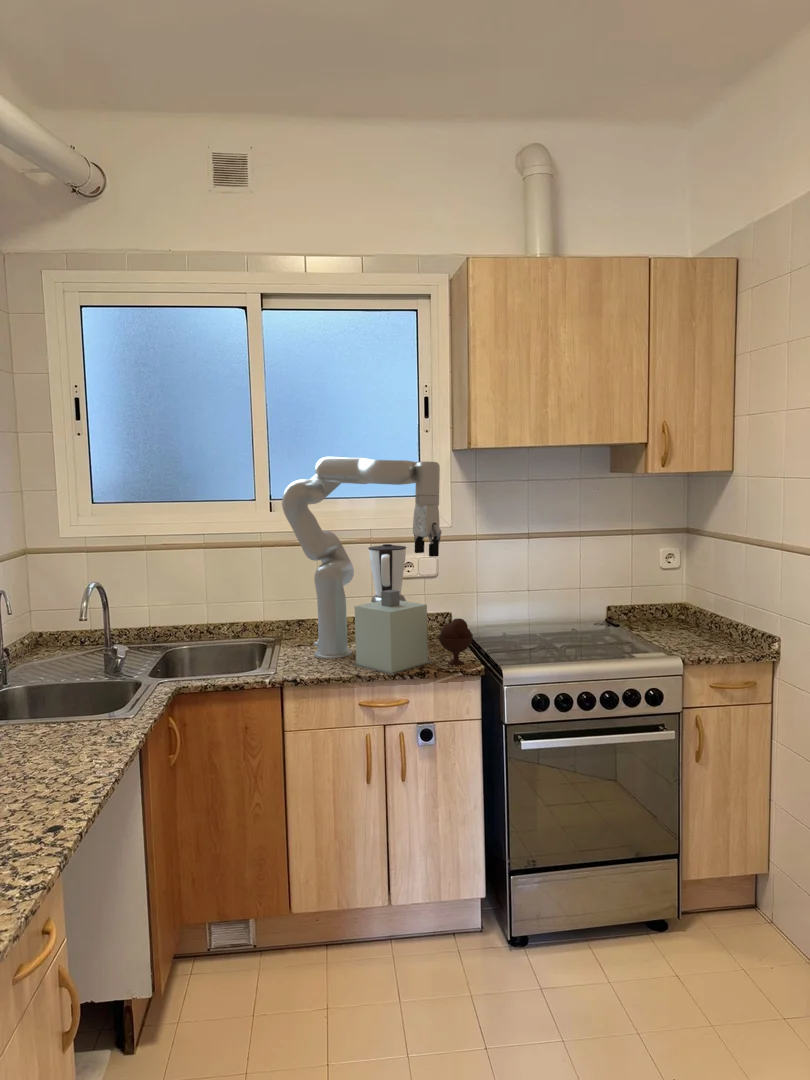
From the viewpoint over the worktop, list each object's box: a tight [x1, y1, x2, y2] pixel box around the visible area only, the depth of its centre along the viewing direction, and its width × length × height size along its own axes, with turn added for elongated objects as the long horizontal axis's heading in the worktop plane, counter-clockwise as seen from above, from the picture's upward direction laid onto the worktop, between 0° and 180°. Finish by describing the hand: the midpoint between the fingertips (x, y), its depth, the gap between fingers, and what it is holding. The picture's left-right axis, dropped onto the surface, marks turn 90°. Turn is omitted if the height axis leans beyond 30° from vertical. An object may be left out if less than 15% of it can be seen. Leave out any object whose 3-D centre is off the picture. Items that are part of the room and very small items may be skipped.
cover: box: [354, 590, 429, 673], centre depth 231 cm, size 16×16×23 cm
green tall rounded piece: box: [367, 543, 407, 603], centre depth 261 cm, size 19×13×35 cm
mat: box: [352, 661, 433, 675], centre depth 232 cm, size 18×18×1 cm
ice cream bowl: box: [438, 618, 474, 667], centre depth 230 cm, size 11×11×15 cm
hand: (426, 554), depth 234 cm, fingers open, 9 cm apart
